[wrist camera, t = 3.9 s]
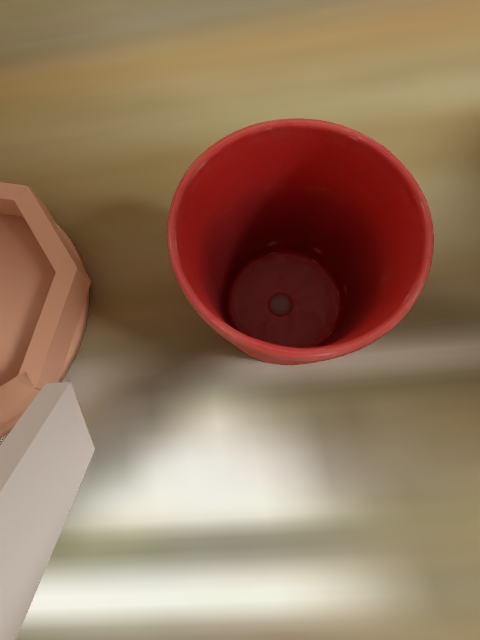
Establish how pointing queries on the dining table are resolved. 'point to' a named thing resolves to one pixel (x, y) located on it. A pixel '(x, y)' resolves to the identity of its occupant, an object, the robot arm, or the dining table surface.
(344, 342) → the flower pot
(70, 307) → the terracotta saucer
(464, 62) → the dining table surface
